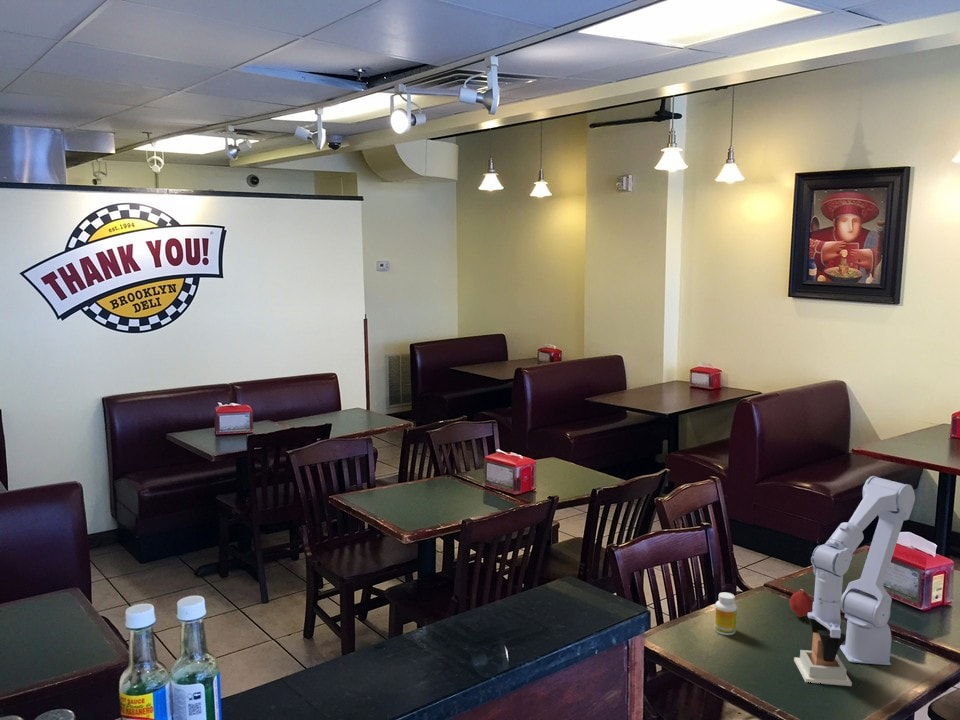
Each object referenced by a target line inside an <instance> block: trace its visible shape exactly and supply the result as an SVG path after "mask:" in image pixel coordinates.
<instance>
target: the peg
mask: <svg viewBox="0 0 960 720" xmlns="http://www.w3.org/2000/svg"><path fill="white" fill-rule="evenodd" d="M811 641H812V642H811V643H812V644H811V651H812V655H811V662H812V664H813V665H819V666H832V667H834V665H835V660H834V662H827V661H824V659H823V653H822V643H821V639H820V636H819V633H813V636H812V640H811Z"/></svg>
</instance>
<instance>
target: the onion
mask: <svg viewBox="0 0 960 720" xmlns="http://www.w3.org/2000/svg"><path fill="white" fill-rule="evenodd" d="M789 607H790V610H791V611H793V613H794V614H796V615H797V617H798V618H803V617H805V616H807V613H808V612H812V611H813V609H812V608H813V600H812V598H811V597H810V595H809V594H808V593H807V592H806V591H805V590H804V589H802V588H800V589H799V590H798V591H796V592H795V593H793V594H791V597H790V599H789Z"/></svg>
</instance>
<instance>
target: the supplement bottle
mask: <svg viewBox="0 0 960 720" xmlns="http://www.w3.org/2000/svg"><path fill="white" fill-rule="evenodd" d="M735 600H736V597H735V595H734V594H733V593H731V592H726V591H725V592H719V594H718V600H717V601H716V602H715V605H714V624H713V630H714V631H715V632H716V633H718V634H720V635H723V636H732V635H735V634H736V630H737V615H738V614H737V613H738V606H737V604H736V603H735V602H736V601H735Z"/></svg>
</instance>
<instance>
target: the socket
mask: <svg viewBox="0 0 960 720" xmlns="http://www.w3.org/2000/svg"><path fill="white" fill-rule="evenodd" d="M799 652H800V653H799V657H798V656H797V657H796V656H794V657H793V662H794V663H795V665H796V667H797V669H798V670H799V672H800V675H801V676H802V678H803V680H804V682H805V683H808V682H809V683H808V684H811V683H812V684H820V683H821V684H823V685H831V686H833V685H834V686H847V687H852V685H853V683H852V681H851V679H850V678H849V676H848V675H847V671H848V670H847V668H846V667H845V664H844V663H843V662H842V660H841V658H840V657H839V655H838V654H837V655H836V657H835V665H834V667H832V666H819V665H813V664H812V662H811V655H812V650H807V649H806V650H805V649H800V650H799ZM810 682H811V683H810Z"/></svg>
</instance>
